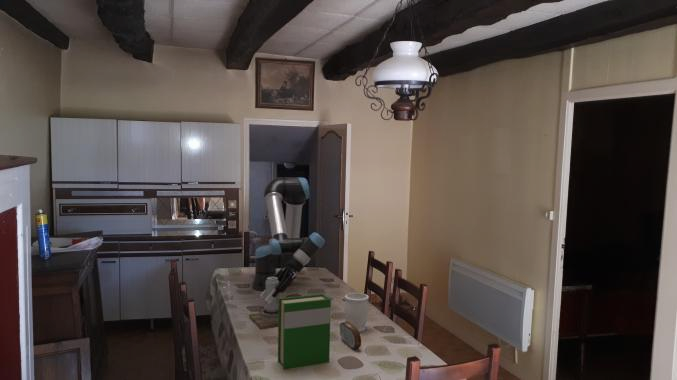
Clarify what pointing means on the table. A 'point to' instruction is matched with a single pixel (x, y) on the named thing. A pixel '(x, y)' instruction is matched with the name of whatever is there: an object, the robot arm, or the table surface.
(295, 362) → the hardback book
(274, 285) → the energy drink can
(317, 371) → the table surface
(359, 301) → the jar
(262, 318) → the mount
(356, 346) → the tin
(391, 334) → the table surface
